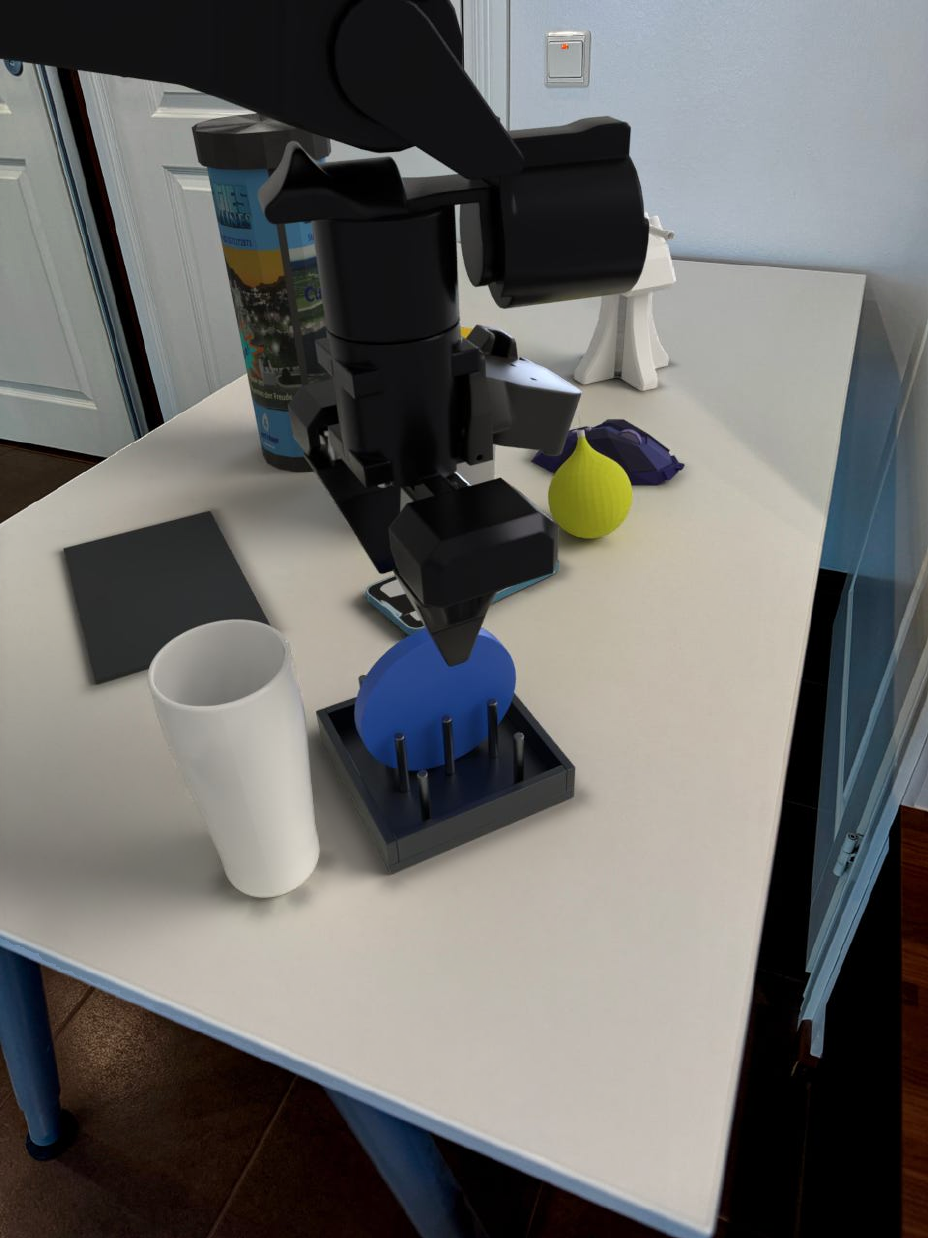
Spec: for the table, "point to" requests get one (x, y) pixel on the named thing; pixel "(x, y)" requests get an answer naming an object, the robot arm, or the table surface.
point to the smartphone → (402, 612)
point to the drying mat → (154, 590)
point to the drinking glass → (241, 748)
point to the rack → (448, 782)
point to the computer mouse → (621, 452)
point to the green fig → (589, 493)
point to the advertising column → (267, 271)
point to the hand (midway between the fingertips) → (419, 613)
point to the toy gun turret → (632, 323)
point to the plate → (432, 699)
